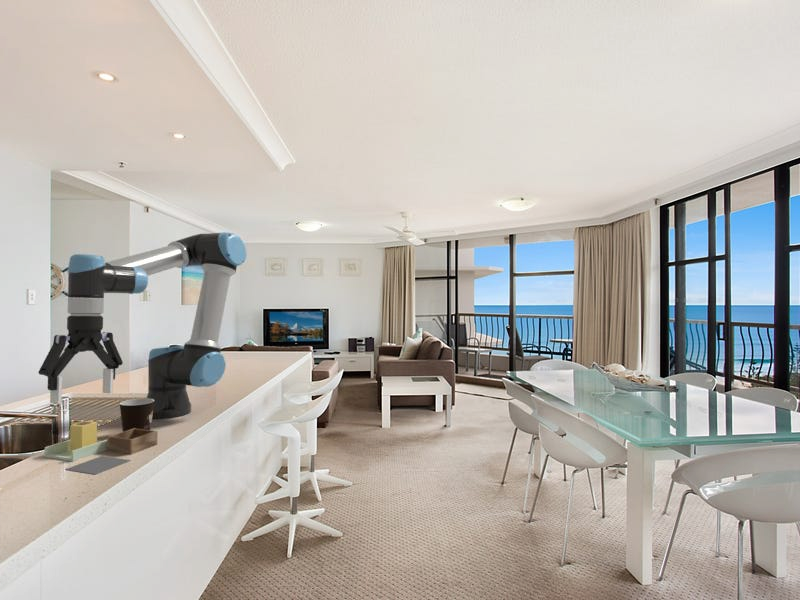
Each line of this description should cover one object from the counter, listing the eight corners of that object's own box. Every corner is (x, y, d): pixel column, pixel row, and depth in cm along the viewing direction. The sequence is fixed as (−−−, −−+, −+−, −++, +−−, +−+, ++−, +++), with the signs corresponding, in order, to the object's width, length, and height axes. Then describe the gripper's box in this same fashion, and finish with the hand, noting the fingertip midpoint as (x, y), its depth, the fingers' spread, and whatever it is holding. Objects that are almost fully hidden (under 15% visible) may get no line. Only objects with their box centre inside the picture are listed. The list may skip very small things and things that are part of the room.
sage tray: (92, 443, 120) (92, 432, 120) (119, 446, 117) (119, 436, 117) (44, 458, 108) (44, 447, 108) (73, 463, 105) (73, 451, 105)
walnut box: (133, 442, 120) (134, 428, 120) (157, 445, 118) (157, 431, 118) (107, 452, 113) (107, 436, 113) (131, 455, 111) (131, 440, 111)
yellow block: (85, 447, 115) (85, 420, 115) (96, 449, 114) (97, 421, 114) (69, 452, 111) (70, 424, 111) (81, 454, 110) (82, 426, 110)
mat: (101, 458, 109) (101, 456, 109) (130, 462, 106) (130, 460, 106) (65, 471, 100) (65, 469, 100) (95, 476, 98) (95, 474, 98)
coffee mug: (137, 442, 121) (138, 406, 121) (111, 440, 123) (112, 404, 123) (168, 430, 132) (168, 397, 132) (143, 428, 134) (144, 395, 134)
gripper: (117, 314, 126) (115, 388, 125) (21, 315, 102) (18, 407, 101) (138, 314, 123) (136, 390, 123) (45, 316, 99) (42, 409, 99)
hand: (83, 397), depth 112 cm, fingers open, 13 cm apart
